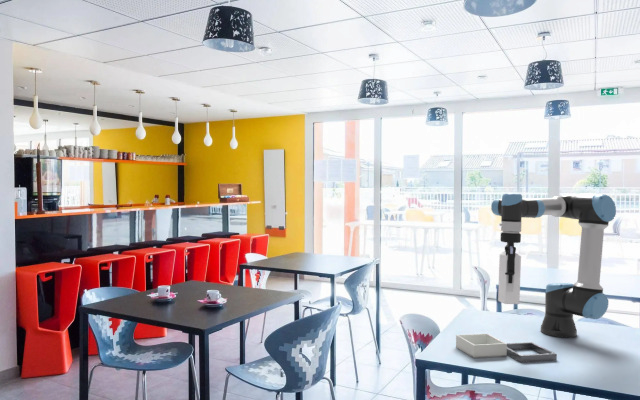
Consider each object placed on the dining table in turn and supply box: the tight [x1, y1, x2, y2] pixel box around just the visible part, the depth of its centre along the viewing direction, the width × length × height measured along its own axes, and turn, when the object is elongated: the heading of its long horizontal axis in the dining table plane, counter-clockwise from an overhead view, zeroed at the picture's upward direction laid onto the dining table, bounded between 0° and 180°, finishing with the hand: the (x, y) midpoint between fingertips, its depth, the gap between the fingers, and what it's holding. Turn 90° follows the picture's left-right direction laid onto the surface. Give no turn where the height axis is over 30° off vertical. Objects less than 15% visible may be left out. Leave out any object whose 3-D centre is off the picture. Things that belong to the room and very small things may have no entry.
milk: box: [497, 251, 522, 305], centre depth 201 cm, size 6×6×22 cm
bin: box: [455, 333, 508, 359], centre depth 203 cm, size 14×14×5 cm
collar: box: [506, 341, 558, 363], centre depth 200 cm, size 16×16×2 cm
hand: (508, 289), depth 201 cm, fingers closed on milk, 8 cm apart
